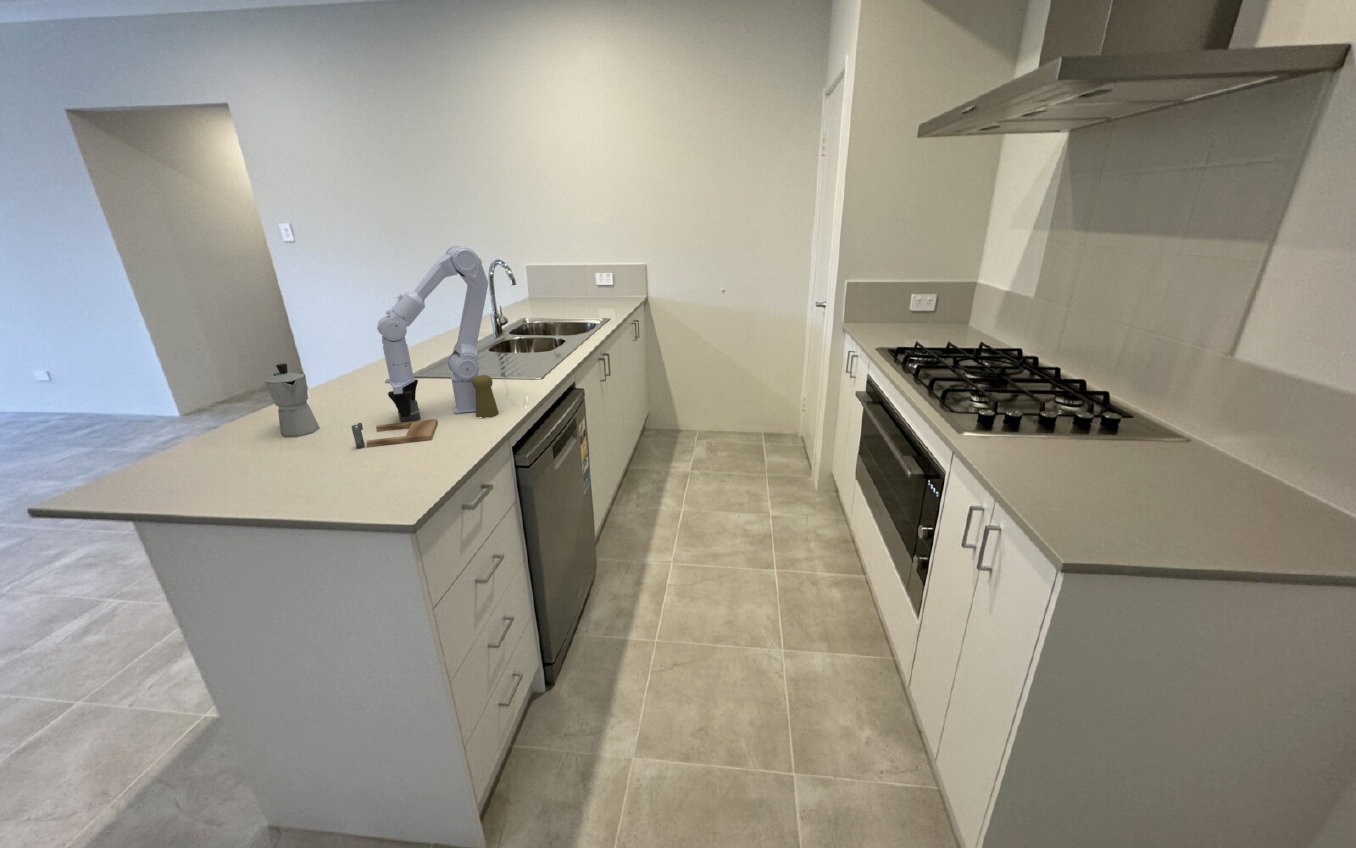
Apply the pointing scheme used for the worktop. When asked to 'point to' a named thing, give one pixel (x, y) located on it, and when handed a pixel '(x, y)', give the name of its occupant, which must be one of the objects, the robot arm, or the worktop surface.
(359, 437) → the hook
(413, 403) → the grey flanged cylinder
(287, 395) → the coffee maker
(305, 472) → the worktop surface
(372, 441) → the brown wooden u-shaped bracket
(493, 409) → the olive pawn
